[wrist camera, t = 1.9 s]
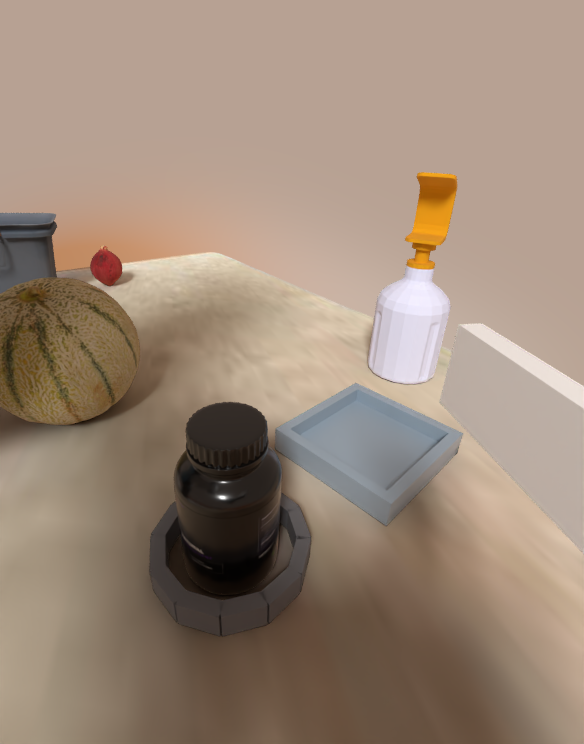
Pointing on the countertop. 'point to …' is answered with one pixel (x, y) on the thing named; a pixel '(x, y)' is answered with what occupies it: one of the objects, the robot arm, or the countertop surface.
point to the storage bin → (26, 248)
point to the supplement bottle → (228, 498)
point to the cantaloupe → (64, 351)
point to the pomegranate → (106, 266)
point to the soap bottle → (415, 294)
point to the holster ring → (236, 610)
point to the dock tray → (369, 449)
